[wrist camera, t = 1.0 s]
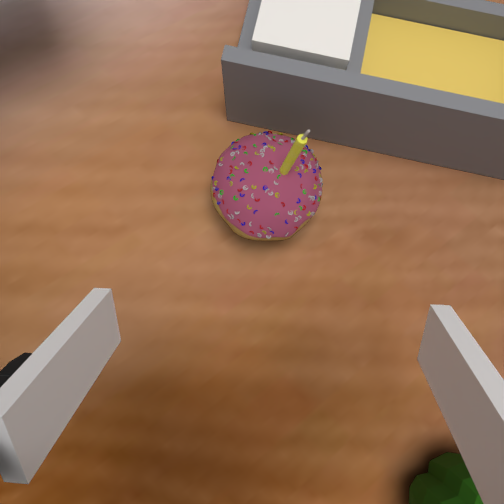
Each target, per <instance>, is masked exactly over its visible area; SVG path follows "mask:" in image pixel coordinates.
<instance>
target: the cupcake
mask: <svg viewBox="0 0 504 504" xmlns="http://www.w3.org/2000/svg"><path fill="white" fill-rule="evenodd" d="M270 132H271V131H268V132H266V133H265V132H263V133H260V132H259V133H258V134H254V133H250V135H248V136H244V137H242V138H241V139H237V140H236V142H235V141H234V142H232V143H231V146H229V147H228V148H227V149H226V150H225V151H224V152H223V153H222V154H221V156H220V157H219V159H218V160H217V165H216V168H215V171H214V174H213V176H212V181H211V197H212V202H213V204H214V206H215V208H216V210H217V212H218V213H219V215H220V216H221V217H222V218H223V220H224V221H225V222H226V223H227V224H228V225H229V226H230V228H231V229H232V231H233V232H235V233H236V234H238V235H239V236H241V237H244V238H246V239H250V240H260V241H274V240H286V239H288V238H290V237H292V236H293V235H294V234H295V233H296V232H298V231H299V230H300V229H301V228H302V227H303V226H304V225H305V224H306V223H307V222H308V221H309V220H310V219H311V217H312V216H313V215H314V214H315V212H316V211H317V208H318V206H319V203H320V200H321V195H322V185H323V183H322V177H321V172H320V170H321V167H320V166H319V165H318V161H317V160H316V158H315V155H314V154H313V150H312V149H308V146H307V145H305V144H306V143H307V135H308V134H309V133H310V130H307V131H306V132H305V133H304V134H300V135H298V136H297V138H296V140H295V139H293V138H290V137H287V136H283V134H282V133H279V134H281V135H279V134H276V133H273V134H272V132H271V133H270ZM311 150H312V151H311Z"/></svg>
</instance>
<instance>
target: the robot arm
mask: <svg viewBox="0 0 504 504" xmlns="http://www.w3.org/2000/svg"><path fill="white" fill-rule="evenodd" d="M120 342H121V338H120V332H119V327H118V322H117V316H116V311H115V305H114V300H113V295H112V289H108V288H94V289H93V290H92V291H91V292H90V293H89V294H88V295H87V296H86V297H85V298H84V299H83V300H82V301H81V302H80V303H79V304H78V306H77V307H76V308H75V309H74V310H73V311H72V312H71V313H70V314H69V315H68V316H67V317H66V318H65V319H64V320H63V322H62V323H61V324H60V325H59V326H58V327H57V328H56V329H55V330H54V331H53V332H52V333H51V334H50V335H49V336H48V337H47V339H46V340H45V341H44V342H43V343H42V344H41V345H40V346H39V347H38V348H37V349H36V350H35V351H34V352H33V353H23V354H22V355H20V356H19V357H17V358H15V359H14V360H12V361H11V362H9V363H8V364H7V365H6V366H5V367H4V368H3V369H2V370H1V371H0V474H1V476H2V478H3V480H4V482H11V483H22V484H29V483H30V481H31V479H32V478H33V476H34V475H35V473H36V472H37V470H38V469H39V467H40V466H41V464H42V462H43V461H44V459H45V458H46V456H47V455H48V453H49V452H50V450H51V448H52V447H53V445H54V444H55V442H56V441H57V439H58V438H59V436H60V435H61V433H62V431H63V430H64V428H65V427H66V425H67V424H68V422H69V421H70V419H71V418H72V416H73V414H74V413H75V411H76V410H77V408H78V407H79V405H80V404H81V402H82V400H83V399H84V397H85V396H86V394H87V393H88V391H89V390H90V388H91V387H92V385H93V383H94V382H95V380H96V379H97V377H98V376H99V374H100V373H101V371H102V369H103V368H104V366H105V365H106V363H107V362H108V360H109V359H110V357H111V356H112V354H113V352H114V351H115V349H116V348H117V346H118V345H119V343H120ZM417 360H418V362H419V364H420V366H421V368H422V371H423V373H424V375H425V377H426V379H427V381H428V384H429V386H430V388H431V390H432V392H433V395H434V397H435V399H436V401H437V403H438V405H439V408H440V410H441V412H442V414H443V416H444V419H445V421H446V423H447V425H448V427H449V429H450V432H451V434H452V436H453V438H454V440H455V443H456V445H457V447H458V449H459V451H460V453H461V456H462V458H463V460H464V462H465V464H466V467H467V469H468V471H469V473H470V475H471V477H472V480H473V482H474V484H475V486H476V488H477V491H478V493H479V495H480V497H481V499H482V501H483V504H504V380H503V378H502V377H501V375H500V374H499V373H498V371H497V370H496V369H495V367H494V366H493V364H492V363H491V362H490V360H489V359H488V357H487V356H486V355H485V353H484V352H483V350H482V349H481V348H480V346H479V345H478V343H477V342H476V341H475V339H474V338H473V336H472V335H471V334H470V332H469V331H468V329H467V328H466V327H465V325H464V324H463V322H462V321H461V320H460V318H459V317H458V315H457V314H456V313H455V311H454V310H453V308H452V307H451V306H450V305H430V308H429V312H428V317H427V321H426V325H425V329H424V333H423V337H422V341H421V345H420V349H419V354H418V358H417Z"/></svg>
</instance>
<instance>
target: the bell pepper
mask: <svg viewBox="0 0 504 504" xmlns="http://www.w3.org/2000/svg"><path fill="white" fill-rule="evenodd" d="M409 504H483V501H482V499H481V497H480V495H479V493H478V491H477V488H476V486H475V484H474V482H473V480H472V477H471V475H470V473H469V471H468V469H467V467H466V464H465V462H464V460H463V458H462V456H461V454H456V453H449V452H446V453H444V454H443V455H441V456H439V457H437V458H435V459H433V460H431V461H430V462H429V467H428V473H424V474H420V475H417V476H416V477H415V479H414V480H413V482H412V484H411V485H410V490H409Z"/></svg>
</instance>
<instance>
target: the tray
mask: <svg viewBox="0 0 504 504" xmlns="http://www.w3.org/2000/svg"><path fill="white" fill-rule="evenodd" d="M261 1H262V0H249V4H248V8H247V12H246V16H245V20H244V24H243V28H242V32H241V35H240V39H239V43H238V47H233V46H229V45H225V47H224V51H223V55H222V58H221V63H222V74H223V84H224V94H225V104H226V114H227V120H229V121H233V122H238V123H243V124H247V125H252V126H256V127H261V128H266V129H270V130H275V131H280V132H284V133H289V134H294V135H300V134H304V133H305V132H306V131H307V130H310V133H309V134H308V135H307V137H308V138H312V139H317V140H321V141H326V142H331V143H335V144H340V145H345V146H349V147H354V148H359V149H363V150H368V151H373V152H377V153H382V154H387V155H391V156H396V157H400V158H405V159H410V160H414V161H419V162H424V163H428V164H433V165H438V166H442V167H447V168H452V169H456V170H461V171H465V172H470V173H475V174H479V175H484V176H489V177H493V178H498V179H503V180H504V4H499V3H495V2H490V1H485V0H361V3H360V9H359V14H358V19H357V24H356V29H355V34H354V39H353V44H352V49H351V54H350V59H349V62H348V65H347V67H346V69H345V70H342V69H337V68H333V67H328V66H323V65H319V64H314V63H309V62H304V61H300V60H295V59H290V58H285V57H281V56H276V55H271V54H266V53H262V52H257V51H252V37H253V33H254V29H255V25H256V21H257V17H258V13H259V9H260V5H261Z"/></svg>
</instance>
